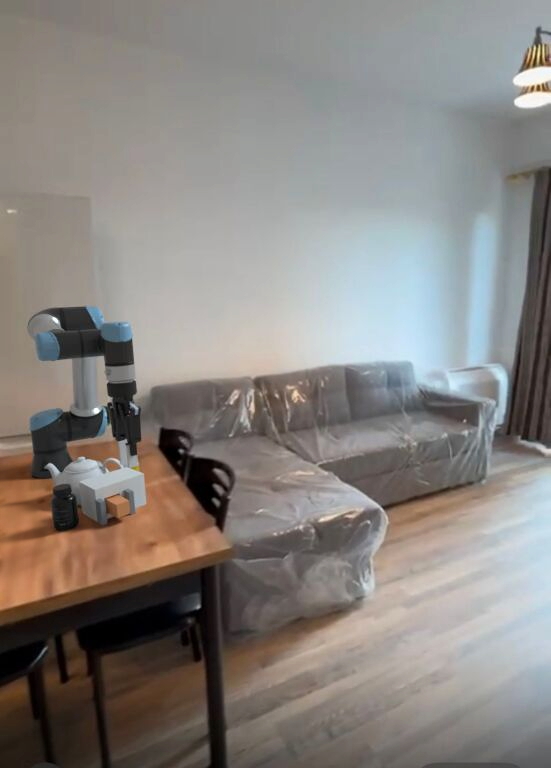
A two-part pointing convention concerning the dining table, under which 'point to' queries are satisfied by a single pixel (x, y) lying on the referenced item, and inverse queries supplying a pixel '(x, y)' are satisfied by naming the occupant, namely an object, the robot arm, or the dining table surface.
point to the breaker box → (111, 492)
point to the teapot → (79, 473)
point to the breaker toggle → (117, 506)
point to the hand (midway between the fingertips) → (129, 464)
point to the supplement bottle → (64, 508)
